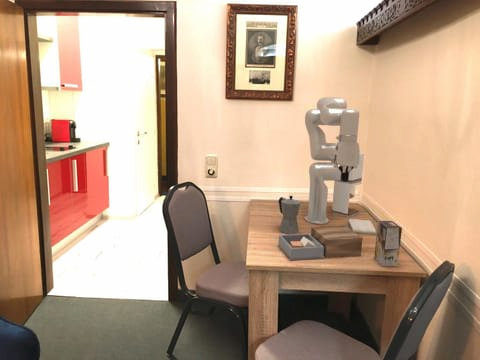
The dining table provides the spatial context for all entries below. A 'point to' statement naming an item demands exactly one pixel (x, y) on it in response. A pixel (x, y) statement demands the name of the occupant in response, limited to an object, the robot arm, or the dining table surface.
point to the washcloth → (362, 226)
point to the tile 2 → (307, 242)
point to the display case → (347, 191)
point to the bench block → (338, 241)
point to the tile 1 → (296, 244)
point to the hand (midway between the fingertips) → (344, 181)
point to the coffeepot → (289, 215)
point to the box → (303, 252)
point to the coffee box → (387, 243)
